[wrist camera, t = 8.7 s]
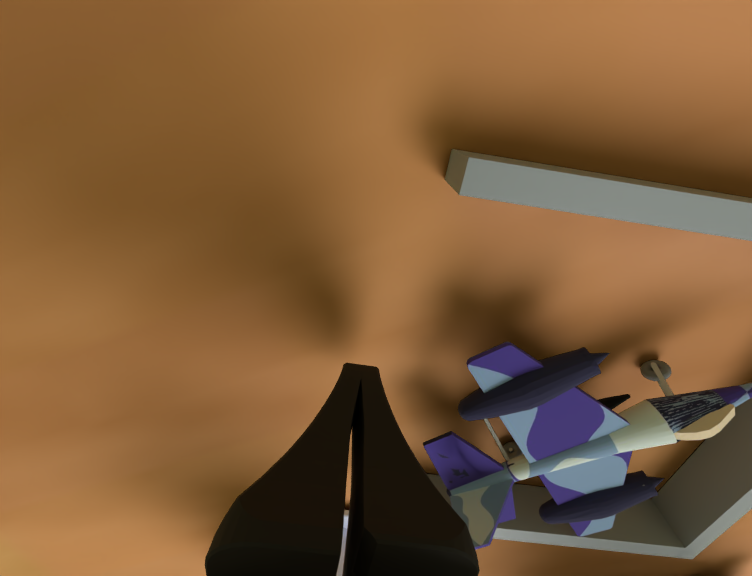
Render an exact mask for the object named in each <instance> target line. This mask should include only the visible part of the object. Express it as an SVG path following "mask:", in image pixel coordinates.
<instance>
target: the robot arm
mask: <svg viewBox="0 0 752 576" xmlns="http://www.w3.org/2000/svg"><path fill="white" fill-rule="evenodd" d="M351 430H352V475H351V497H350V507H349V510H344V509H345V493H346V480H347V466H348V454H349V442H350V434H351ZM205 569H206V575H207V576H478V573H479V565H478V559H477V554H476V551H475V548H474V544H473V541H472V538H471V535H470V533H469V530H468V527H467V525H466V523H465V522H464V521H463V520H462V519H461V517H460V516H459V515H458V514H457V513H456V512H455V511H454V509H453V508H452V507H451V506H450V505H449V503H448V502H447V501H446V500H445V498H444V497H443V496H442V495H441V493H440V492H439V491H438V489H437V488H436V487H435V485H434V484H433V483H432V481H431V480H430V478H429V477H428V475H427V474H426V472H425V471H424V470H423V468H422V467H421V465H420V464H419V462H418V461H417V459H416V457H415V456H414V454H413V452H412V451H411V449H410V447H409V445H408V444H407V442H406V440H405V438H404V436H403V434H402V432H401V430H400V428H399V426H398V424H397V422H396V420H395V417H394V415H393V413H392V410H391V408H390V405H389V403H388V400H387V397H386V395H385V392H384V388H383V385H382V382H381V378H380V373H379V369H378V368H377V367H374V366H367V365H359V364H352V363H345V364H344V365H343V369H342V372H341V374H340V377H339V379H338V381H337V383H336V385H335V387H334V389H333V391H332V392H331V394H330V396H329V397H328V399H327V401H326V402H325V404H324V405H323V407H322V408H321V410H320V411H319V413H318V414H317V416H316V417H315V419H314V420H313V421H312V423H311V424H310V425H309V427H308V428H307V429H306V430H305V432H304V433H303V434H302V435H301V437H300V438H299V439H298V440H297V441H296V442H295V443H294V445H293V446H292V447H291V448H290V449H289V450H288V451H287V452H286V453H285V454H284V455H283V456H282V457H281V458H280V459H279V460H278V461H277V462H276V463H275V464H274V465H273V466H272V467H271V468H270V469H269V470H268V471H267V472H266V473H265V474H264V475H263V476H262V477H261V478H259V479H258V480H257V481H256V482H255V483H254V484H252V485H251V486H250V487H249V488H248V489H246V490H245V491H244V492H243V493H242V494H241V495H239V496H238V497H237V499H236V500H235V502H234V503H233V505H232V506H231V508H230V509H229V511H228V512H227V514H226V515H225V517H224V519H223V520H222V522H221V524H220V526H219V528H218V530H217V532H216V534H215V536H214V538H213V541H212V543H211V546H210V548H209V551H208V553H207V556H206V559H205Z"/></svg>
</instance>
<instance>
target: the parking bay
mask: <svg viewBox="0 0 752 576" xmlns="http://www.w3.org/2000/svg"><path fill="white" fill-rule="evenodd" d="M445 181H446V182H447V183H448V184H449V185H450V186H451V187H452V188H453V189H454V190H455V191H456V192H457V193H458V194H459V195H463V196H469V197H475V198H482V199H488V200H494V201H501V202H507V203H513V204H520V205H526V206H533V207H539V208H545V209H552V210H558V211H564V212H571V213H577V214H584V215H590V216H596V217H603V218H609V219H615V220H622V221H628V222H635V223H641V224H647V225H654V226H660V227H666V228H673V229H679V230H686V231H692V232H698V233H705V234H711V235H717V236H724V237H730V238H736V239H743V240H749V241H752V198H749V197H743V196H737V195H730V194H724V193H718V192H712V191H706V190H700V189H694V188H688V187H682V186H676V185H669V184H663V183H657V182H651V181H645V180H639V179H633V178H627V177H621V176H614V175H608V174H602V173H596V172H590V171H584V170H578V169H572V168H566V167H560V166H553V165H547V164H541V163H535V162H529V161H523V160H517V159H511V158H505V157H499V156H492V155H486V154H480V153H474V152H468V151H462V150H456V149H452V151H451V155H450V159H449V163H448V168H447V172H446V176H445ZM427 475H428V477H429V478H430V480H431V481H432V483H433V484H434V485H435V487H436V488H437V489H438V491H439V492H440V493H441V495H442V496H443V497H444V498H445V500H446V501H447V502H448V503H449V505H450V506H451V501H450V497H449V496H448V494H447V492H446V490H447V487H446V486H445V484H444V483H443V481H442V479H441V477H440V475H433V474H427ZM512 493H513V501H514V508H515V516H516V519H513V520H509V521H506V522H502V523H499V524H498V526H497V528H496V531H495V533H494V536H493V539H502V540H512V541H521V542H531V543H540V544H550V545H559V546H569V547H579V548H588V549H598V550H607V551H617V552H626V553H636V554H645V555H655V556H664V557H674V558H684V559H693V558H694V557H696V556H697V555H698V554H699V553H700V552H701V551H703V550H704V549H705V548H706V547H707V546H708V545H710V544H711V543H712V542H713V541H714V540H716V539H717V538H718V537H719V536H720V535H721V534H723V533H724V532H725V531H726V530H727V529H728V528H730V527H731V526H732V525H733V524H734V523H735V522H737V521H738V520H739V519H740V518H741V517H742V516H744V515H745V514H746V513H747V512H748V511H749V510H751V509H752V398H750V399H748V400H747V401H745V402H743V403H742V404H740V405H738V406H737V407H735V416H734V417H733V418H732V419H731V420H730V421H729V422H728V423H727V425H726V426H725V427H724V428H723V429H722V430H721V431H720V432H719V433H717V434H716V435H714V436H712V437H710V438H707V439H706V440H705V441H704V442H703V443H702V444H701V445H700V446H699V447H698V449H697V450H696V451H695V452H694V453H693V454H692V455H691V456H690V457H689V458H688V460H687V461H686V462H685V463H684V464H683V465H682V466H681V467H680V468H679V470H678V471H677V472H676V473H675V474H674V475H673V476H672V477H671V478H670V479H669V481H668V482H667V483H666V484H665V485H664V486H663V487H662V488H661V489H660V490H659V492H658V496H654V497H653V498H652V499H647V500H645V501H643V502H641V503H639V504H637V505H634V506H632V507H630V508H628V509H626V510H624V511H622V512H619V513H617V514H616V515H615V519H614V523H613V527H612V528H611V529H608V530H604V531H600V532H597V533H593V534H589V535H586V536H581V537H580V536H577V534H576V533H575V531H574V530H573V528H572V527H571V525H570V524H569V523H561V524H548V523H546V522H544V521H543V520H542V519H541V517H540V515H539V508H540V506H541V505H542V504H544V503H545V502H547V501H548V500H550V499H552V498H553V497H552V496H551V494H550V493H549V491H548V490H547V488H546V487H538V486H530V485H521V484H513V487H512Z"/></svg>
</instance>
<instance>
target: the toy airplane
mask: <svg viewBox="0 0 752 576" xmlns="http://www.w3.org/2000/svg"><path fill="white" fill-rule="evenodd" d="M609 354H610V353H589V352H588V350H587V349H586V348H584V347H583V348H580V349H578V350H574V351H571V352H567V353H563V354H560V355H556V356H553V357H549V358H545V359H542V360H536V359H535V358H533V357H532V356H530V355H529V354H527V353H526V352H524V351H523V350H521V349H520V348H518V347H517V346H515V345H514V344H512V343H511V342H504V343H502V344H500V345H498V346H495V347H493V348H491V349H489V350H486V351H484V352H482V353H480V354H478V355H475V356H473V357H471V358H469V359H468V360H467V363H466V364H467V367H468V369H469V371H470V372H471V374H472V375H473V377H474V378H475V380H476V381H477V383H478V384H479V386H480V388H479V389H477V390H476V391H474V392H473V393H472V394H470V395H469V396H467V397H466V398H464V399H463V400H461V401H460V403H459V405H458V412H459V414H460V416H461V417H462V418H463V419H465V420H467V421H473V420H480V419H484V421H485V423H486V425H487V427H488V429H489V430H490V432H491V434H492V436H493V438H494V439H495V441H496V443H497V445H498V447H499V449H500V450H501V452H502V455H503V457H504V458H505V460H506V462H503V463H501V464H500V463H499V462H497V461H496V460H494V459H493V458H491V457H490V456H488V455H487V454H485V453H484V452H482V451H481V450H479V449H478V448H476V447H475V446H473V445H472V444H470V443H469V442H467V441H466V440H464V439H462V438H461V437H459V436H458V435H456V434H455V433H453V432H452V431H450V432H448V433H445V434H443V435H440V436H438V437H436V438H433V439H431V440H428V441H426V442H423V445H424V448H425V450H426V451H427V453H428V455H429V457H430V459H431V461H432V462H433V464H434V466H435V468H436V470H437V472H438V473H439V475H440V477H441V479H442V481H443V483H444V484H445V486H446V487H447V490H446V492H447V494H448V496H449V497H450V501H451V507H452V508H453V509H454V511H455V512H456V513H457V514H458V515H459V516H460V517H461V519H462V520H463V521H464V522H465V523H466V525H467V527H468V530H469V533H470V535H471V538H472V541H473V544H474V548H475V549H479V548H482V547H486V546H489V545H490V544H491V541H492V539H493V536H494V533H495V531H496V528H497V526H498V524H499V523H502V522H506V521H509V520H513V519H516V516H515V508H514V501H513V493H512V487H513V484H514V482H516V481H520V480H524V479H527V478H531V477H534V476H539V477H540V479H541V480H542V482H543V483H544V485H545V486H546V488H547V490H548V491H549V493H550V494H551V496H552V497H553V498H552V499H550V500H548V501H547V502H545V503H544V504H542V505H541V506H540V508H539V515H540V517H541V519H542V520H543V521H544V522H546V523H548V524H561V523H569V524H570V525H571V527H572V528H573V530H574V531H575V533H576V534H577V536H580V537H581V536H586V535H589V534H593V533H597V532H600V531H604V530H608V529H611V528H612V527H613V523H614V519H615V515H616V514H617V513H619V512H622V511H624V510H626V509H628V508H630V507H632V506H634V505H637V504H639V503H641V502H643V501H645V500H647V499H649V498H652V497H654V496H658V493H657V491H656V489H655V487H656V486H657V485H658V484H659V483H660V482H661V481H662V480H663V479H664V478H656V477H647V476H646V474H645V473H644V472H643V471H639V472H635V473H628V474H626V473H627V469H628V465H629V462H630V458H631V454H632V451H633V450H639V449H645V448H650V447H656V446H662V445H667V444H673V443H677V442H679V441H680V440H686V441H688V440H703V439H706V438H710V437H712V436H714V435H716V434H717V433H719V432H720V431H721V430H722V429H723V428H724V427H725V426H726V425H727V423H728V422H729V421H730V420H731V419H732V418H733V417H734V416H735V407H737V406H738V405H740V404H742V403H743V402H745V401H747V400H748V399H750V398H752V383H748V384H743V385H739V386H732V387H725V388H718V389H712V390H705V391H699V392H692V393H686V394H679V395H674V394H673V393H672V391H671V389H670V387H669V385H668V384H667V382H666V380H665V379H667V378H668V377H669V376H670V375H671V368H670V367H669V365H667V364H666V363H665V362H663V361H659V360H651V361H647V362H645V363H644V364H642V366H641V368H640V370H641V373H642V375H643V376H644V377H645V378H647V379H649V380H653V381H658V383H659V385H660V387H661V389H662V390H663V392H664V394H665V396H666V397H659V398H653V399H646V400H643V401H642V402H640V403H638V404H636V405H634V406H632V407H630V408H628V409H626V410H624V411H622V412H621V413H619V414H617V413H615V412H614V411H612V409H613V408H615V407H616V406H618V405H619V404H621V403H622V402H624V401H626V400H627V399H629V398H630V395H629V394H625V395H620V396H614V397H608V398H603V399H599V400H596V399H594V398H593V397H592V396H590V395H589V394H587V393H586V392H584V391H583V390H581V389H580V388H578V387H577V385H579V384H581V383H583V382H585V381H587V380H588V379H590V378H592V377H594V376H596V375H598V374H600V373H601V371H600V369H599V367H598V365H599V364H600V363H601V362H602V361H603V360H604V359H605V358H606V357H607V356H608V355H609ZM494 417H500V418H501V420H502V421H503V423H504V425H505V426H506V428H507V429H508V431H509V432H510V434H511V435H512V437H513V438H514V440H515V442H508V443H506V444H505V445H504V446H502V445H501V443H500V441H499V439H498V437H497V435H496V434H495V432H494V430H493V428H492V426H491V424H490V422H489V421H488V419H487V418H494Z"/></svg>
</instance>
